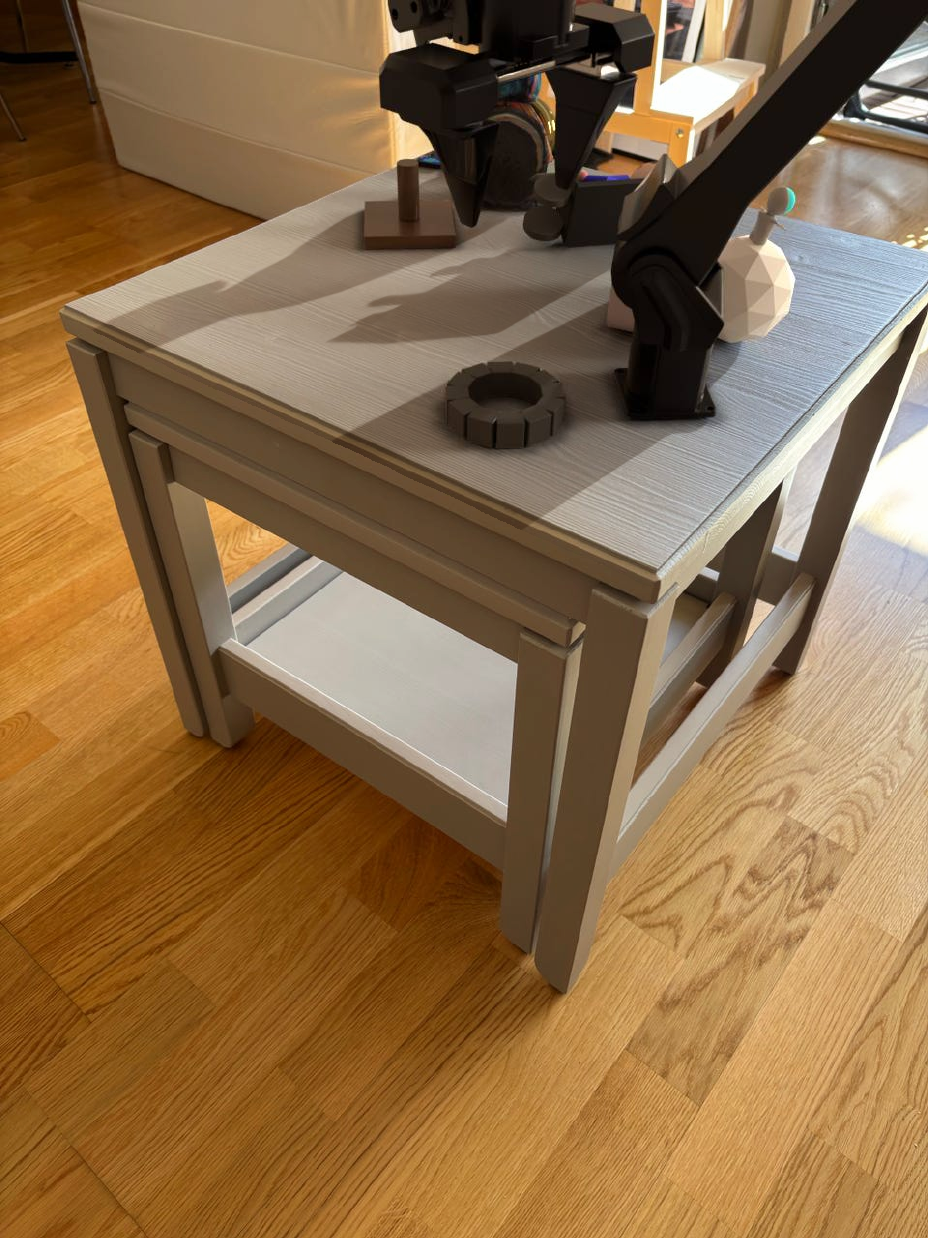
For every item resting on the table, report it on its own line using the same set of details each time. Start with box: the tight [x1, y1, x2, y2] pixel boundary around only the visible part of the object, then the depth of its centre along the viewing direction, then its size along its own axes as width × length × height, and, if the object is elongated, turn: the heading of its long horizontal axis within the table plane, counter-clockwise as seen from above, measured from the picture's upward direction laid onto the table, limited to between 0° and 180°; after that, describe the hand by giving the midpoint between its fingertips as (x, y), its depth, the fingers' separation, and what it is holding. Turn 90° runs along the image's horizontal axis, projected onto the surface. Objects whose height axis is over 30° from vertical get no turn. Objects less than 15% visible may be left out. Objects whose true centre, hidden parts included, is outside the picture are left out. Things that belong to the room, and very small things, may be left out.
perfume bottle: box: [717, 185, 796, 344], centre depth 74 cm, size 8×8×12 cm
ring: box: [444, 360, 567, 449], centre depth 69 cm, size 8×8×2 cm
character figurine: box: [521, 161, 658, 249], centre depth 89 cm, size 8×7×15 cm
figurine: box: [482, 62, 554, 212], centre depth 93 cm, size 10×7×15 cm
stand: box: [363, 158, 457, 250], centre depth 90 cm, size 8×8×6 cm
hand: (517, 206), depth 64 cm, fingers open, 9 cm apart
